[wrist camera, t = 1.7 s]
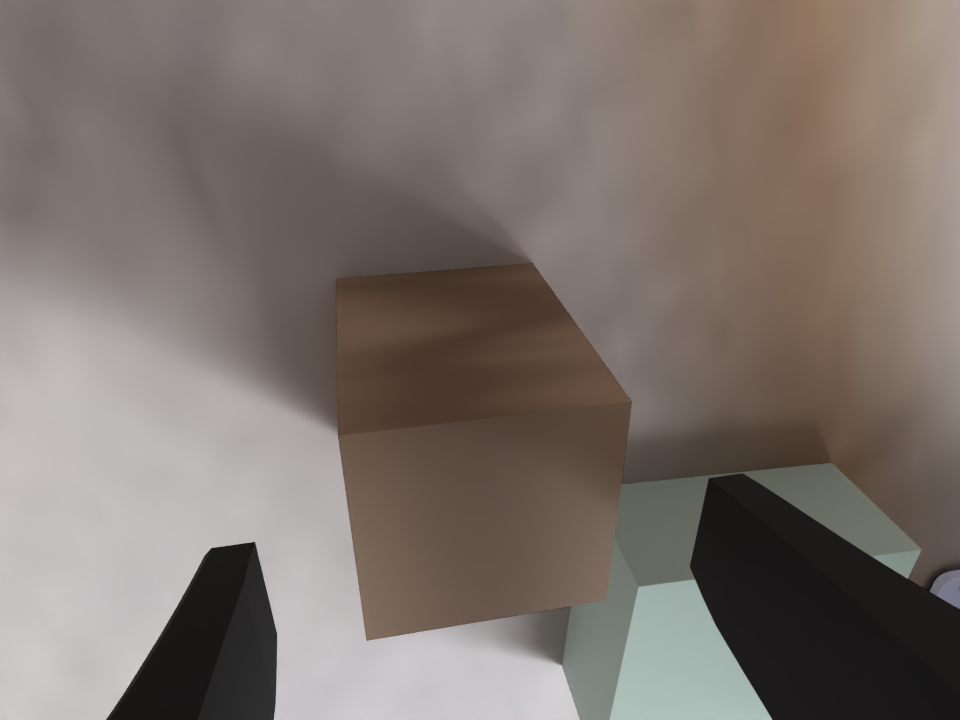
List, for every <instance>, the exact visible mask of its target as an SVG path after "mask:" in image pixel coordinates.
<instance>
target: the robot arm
mask: <svg viewBox="0 0 960 720" xmlns="http://www.w3.org/2000/svg"><path fill="white" fill-rule="evenodd" d="M690 569H691V571H692V574H693V576H694V578H695V581H696V583H697V585H698V588H699V590H700V592H701V595H702V597H703V599H704V601H705V604H706V606H707V608H708V610H709V612H710V614H711V616H712V619H713V621H714V623H715V625H716V627H717V628H718V630H719V632H720V634H721V635H722V637H723V639H724V640H725V642H726V644H727V645H728V647H729V649H730V650H731V652H732V654H733V656H734V657H735V659H736V661H737V662H738V664H739V666H740V667H741V669H742V671H743V672H744V674H745V676H746V677H747V679H748V680H749V682H750V684H751V685H752V687H753V689H754V690H755V692H756V694H757V695H758V697H759V699H760V700H761V702H762V703H763V705H764V707H765V708H766V710H767V712H768V713H769V715H770V717H771V718H772V720H960V570H954V571H949V572H946V573H943V574H942V575H940V576H939V577H938V578H936V580H935V581H934V583H933V585H932V587H931V589H930V592H929V591H928V590H926V589H924V588H923V587H921V586H919V585H917V584H916V583H914V582H912V581H911V580H909V579H907V578H906V577H904V576H902V575H901V574H899V573H897V572H896V571H894V570H893V569H891V568H889V567H888V566H886V565H884V564H883V563H881V562H880V561H878V560H876V559H875V558H873V557H872V556H870V555H868V554H867V553H865V552H864V551H862V550H861V549H859V548H858V547H856V546H854V545H853V544H851V543H850V542H848V541H847V540H845V539H844V538H842V537H840V536H839V535H837V534H836V533H834V532H833V531H831V530H830V529H828V528H827V527H825V526H824V525H822V524H821V523H819V522H818V521H816V520H815V519H813V518H812V517H810V516H809V515H807V514H806V513H804V512H802V511H801V510H799V509H798V508H796V507H795V506H793V505H792V504H790V503H789V502H787V501H786V500H784V499H783V498H781V497H780V496H778V495H777V494H775V493H774V492H772V491H771V490H769V489H767V488H766V487H764V486H763V485H761V484H760V483H758V482H756V481H755V480H753V479H751V478H750V477H748V476H747V475H745V474H743V473H741V474H734V475H727V476H720V477H713V478H709V479H708V484H707V488H706V493H705V498H704V502H703V507H702V512H701V516H700V521H699V526H698V530H697V535H696V540H695V544H694V549H693V553H692V558H691V563H690ZM276 668H277V632H276V628H275V624H274V620H273V615H272V611H271V607H270V603H269V599H268V595H267V590H266V586H265V582H264V578H263V574H262V570H261V565H260V561H259V557H258V553H257V549H256V545H255V542H252V543H245V544H238V545H231V546H224V547H217V548H211V549H210V550H209V552H208V553H207V554H206V555H205V556H204V558H203V560H202V562H201V564H200V566H199V568H198V570H197V571H196V573H195V575H194V577H193V579H192V581H191V583H190V584H189V586H188V588H187V590H186V592H185V593H184V595H183V597H182V599H181V601H180V602H179V604H178V606H177V608H176V609H175V611H174V613H173V615H172V616H171V618H170V620H169V621H168V623H167V625H166V627H165V628H164V630H163V632H162V633H161V635H160V637H159V638H158V640H157V642H156V643H155V645H154V646H153V648H152V650H151V651H150V653H149V654H148V656H147V658H146V659H145V661H144V662H143V664H142V666H141V667H140V669H139V670H138V672H137V674H136V675H135V677H134V679H133V680H132V682H131V683H130V685H129V686H128V688H127V690H126V691H125V693H124V694H123V696H122V697H121V699H120V700H119V702H118V703H117V705H116V706H115V708H114V709H113V711H112V712H111V713H110V715H109V716H108V718H107V719H106V720H274V712H275V702H276Z"/></svg>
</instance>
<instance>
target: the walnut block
mask: <svg viewBox="0 0 960 720" xmlns="http://www.w3.org/2000/svg"><path fill="white" fill-rule="evenodd" d="M336 318H337V392H338V439H339V446H340V453H341V460H342V468H343V475H344V482H345V489H346V496H347V504H348V511H349V518H350V525H351V532H352V540H353V547H354V554H355V561H356V568H357V575H358V583H359V590H360V597H361V604H362V611H363V619H364V626H365V633H366V640H367V641H368V640H373V639H379V638H385V637H391V636H397V635H403V634H409V633H415V632H421V631H427V630H433V629H439V628H445V627H451V626H457V625H463V624H469V623H475V622H481V621H487V620H493V619H499V618H505V617H511V616H517V615H523V614H529V613H535V612H541V611H547V610H553V609H559V608H565V607H571V606H576V605H582V604H588V603H594V602H600V601H606V599H607V591H608V584H609V576H610V568H611V560H612V552H613V545H614V537H615V529H616V521H617V513H618V505H619V498H620V490H621V482H622V474H623V466H624V459H625V451H626V443H627V435H628V427H629V419H630V412H631V404H632V401H631V400H630V398H629V397H628V396H627V394H626V393H625V391H624V390H623V389H622V387H621V386H620V384H619V383H618V382H617V380H616V379H615V378H614V376H613V375H612V373H611V372H610V371H609V369H608V368H607V366H606V365H605V364H604V362H603V361H602V359H601V358H600V357H599V355H598V354H597V352H596V351H595V350H594V348H593V347H592V345H591V344H590V343H589V341H588V340H587V338H586V337H585V336H584V334H583V333H582V331H581V330H580V329H579V327H578V326H577V324H576V323H575V322H574V320H573V319H572V317H571V316H570V315H569V313H568V312H567V311H566V309H565V308H564V306H563V305H562V304H561V302H560V301H559V299H558V298H557V297H556V295H555V294H554V292H553V291H552V290H551V288H550V287H549V285H548V284H547V283H546V281H545V280H544V278H543V277H542V276H541V274H540V273H539V271H538V270H537V269H536V267H535V266H534V264H533V263H531V264H518V265H505V266H492V267H480V268H467V269H454V270H442V271H429V272H416V273H403V274H391V275H378V276H365V277H353V278H340V279H336Z"/></svg>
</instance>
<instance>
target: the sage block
mask: <svg viewBox="0 0 960 720" xmlns="http://www.w3.org/2000/svg"><path fill="white" fill-rule="evenodd" d="M741 473H743V474H745V475H747V476H748V477H750V478H751V479H753V480H755V481H756V482H758V483H760V484H761V485H763V486H764V487H766V488H767V489H769V490H771V491H772V492H774V493H775V494H777V495H778V496H780V497H781V498H783V499H784V500H786V501H787V502H789V503H790V504H792V505H793V506H795V507H796V508H798V509H799V510H801V511H802V512H804V513H806V514H807V515H809V516H810V517H812V518H813V519H815V520H816V521H818V522H819V523H821V524H822V525H824V526H825V527H827V528H828V529H830V530H831V531H833V532H834V533H836V534H837V535H839V536H840V537H842V538H844V539H845V540H847V541H848V542H850V543H851V544H853V545H854V546H856V547H858V548H859V549H861V550H862V551H864V552H865V553H867V554H868V555H870V556H872V557H873V558H875V559H876V560H878V561H880V562H881V563H883V564H884V565H886V566H888V567H889V568H891V569H893V570H894V571H896V572H897V573H899V574H901V575H902V576H904V577H906V578H907V579H908V577H909V575H910V573H911V571H912V569H913V567H914V565H915V563H916V561H917V559H918V557H919V555H920V553H921V551H922V549H921V548H920V547H919V546H918V545H917V544H916V543H915V542H914V541H913V540H912V539H911V538H910V537H909V536H907V535H906V534H905V533H904V532H903V531H902V530H901V529H900V528H899V527H898V526H897V525H896V524H895V523H894V522H893V521H892V520H891V519H890V518H889V517H888V516H887V515H886V514H885V513H884V512H883V511H882V510H880V509H879V508H878V507H877V506H876V505H875V504H874V503H873V502H872V501H871V500H870V499H869V498H868V497H867V496H866V495H865V494H864V493H863V492H862V491H861V490H860V489H859V488H858V487H857V486H856V485H855V484H854V483H852V482H851V481H850V480H849V479H848V478H847V477H846V476H845V475H844V474H843V473H842V472H841V471H840V470H839V469H838V468H837V467H836V466H835V465H834V464H833V463H824V464H814V465H804V466H794V467H785V468H775V469H765V470H755V471H746V472H736V473H726V474H716V475H707V476H697V477H687V478H677V479H668V480H658V481H648V482H638V483H628V484H621V490H620V498H619V505H618V513H617V521H616V529H615V537H614V545H613V552H612V560H611V568H610V576H609V584H608V591H607V599H606V601H600V602H594V603H588V604H582V605H576V606H571V608H570V614H569V621H568V628H567V634H566V641H565V648H564V654H563V661H562V667H563V670H564V673H565V676H566V679H567V682H568V685H569V688H570V691H571V694H572V697H573V700H574V703H575V706H576V709H577V712H578V715H579V718H580V720H772V718H771V717H770V715H769V713H768V712H767V710H766V708H765V707H764V705H763V703H762V702H761V700H760V699H759V697H758V695H757V694H756V692H755V690H754V689H753V687H752V685H751V684H750V682H749V680H748V679H747V677H746V676H745V674H744V672H743V671H742V669H741V667H740V666H739V664H738V662H737V661H736V659H735V657H734V656H733V654H732V652H731V650H730V649H729V647H728V645H727V644H726V642H725V640H724V639H723V637H722V635H721V634H720V632H719V630H718V628H717V627H716V625H715V623H714V621H713V619H712V616H711V614H710V612H709V610H708V608H707V606H706V604H705V601H704V599H703V597H702V595H701V592H700V590H699V588H698V585H697V583H696V581H695V578H694V576H693V574H692V571H691V569H690V563H691V558H692V553H693V549H694V544H695V540H696V535H697V530H698V526H699V521H700V516H701V512H702V507H703V502H704V498H705V493H706V488H707V484H708V479H709V478H713V477H720V476H727V475H734V474H741Z"/></svg>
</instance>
